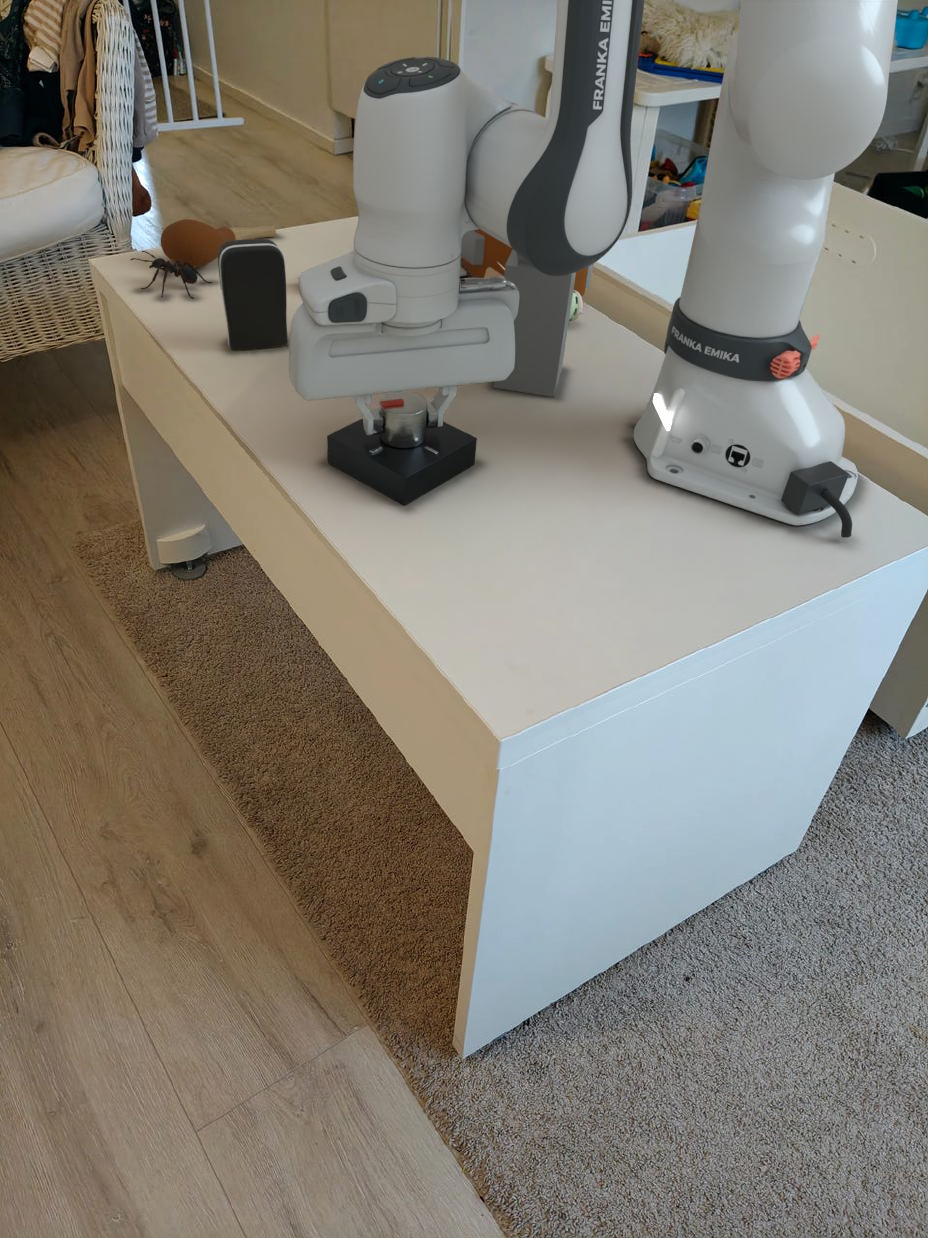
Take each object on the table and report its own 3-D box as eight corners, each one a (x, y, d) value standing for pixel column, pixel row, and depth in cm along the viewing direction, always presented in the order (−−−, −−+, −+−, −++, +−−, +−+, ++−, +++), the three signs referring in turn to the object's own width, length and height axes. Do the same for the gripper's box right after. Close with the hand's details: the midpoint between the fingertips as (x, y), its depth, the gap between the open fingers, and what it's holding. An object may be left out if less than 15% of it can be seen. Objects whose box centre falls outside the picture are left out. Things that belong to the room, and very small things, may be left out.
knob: (416, 421, 91) (418, 385, 89) (432, 444, 88) (434, 408, 86) (373, 427, 90) (373, 391, 88) (387, 451, 87) (388, 414, 85)
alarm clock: (608, 232, 117) (475, 231, 114) (596, 303, 123) (469, 304, 119) (559, 174, 134) (442, 172, 131) (551, 239, 140) (439, 238, 137)
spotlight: (498, 344, 112) (516, 283, 108) (471, 310, 118) (487, 250, 113) (583, 348, 118) (604, 290, 113) (553, 316, 123) (572, 259, 118)
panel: (474, 464, 92) (477, 436, 90) (404, 505, 86) (405, 476, 84) (399, 426, 97) (399, 398, 94) (327, 463, 90) (326, 433, 88)
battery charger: (284, 332, 111) (278, 232, 103) (290, 346, 108) (285, 245, 101) (223, 337, 109) (213, 236, 101) (228, 352, 106) (218, 249, 99)
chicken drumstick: (188, 217, 116) (192, 268, 118) (298, 225, 130) (300, 270, 132) (152, 217, 120) (156, 266, 122) (263, 224, 134) (265, 268, 136)
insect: (154, 265, 122) (152, 241, 120) (218, 279, 121) (216, 255, 119) (121, 289, 116) (118, 265, 114) (188, 304, 115) (186, 280, 113)
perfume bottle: (554, 397, 104) (578, 228, 92) (493, 387, 104) (509, 218, 92) (561, 369, 109) (585, 206, 97) (503, 360, 109) (520, 197, 98)
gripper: (508, 260, 85) (494, 400, 94) (279, 275, 79) (288, 423, 88) (535, 289, 80) (518, 432, 89) (295, 307, 74) (302, 458, 84)
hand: (402, 428), depth 89 cm, fingers closed on knob, 4 cm apart
